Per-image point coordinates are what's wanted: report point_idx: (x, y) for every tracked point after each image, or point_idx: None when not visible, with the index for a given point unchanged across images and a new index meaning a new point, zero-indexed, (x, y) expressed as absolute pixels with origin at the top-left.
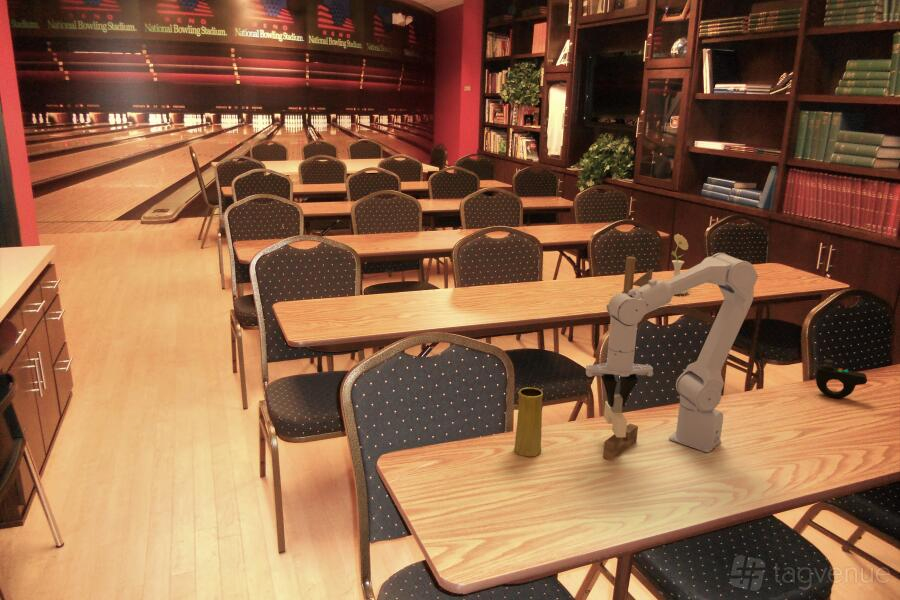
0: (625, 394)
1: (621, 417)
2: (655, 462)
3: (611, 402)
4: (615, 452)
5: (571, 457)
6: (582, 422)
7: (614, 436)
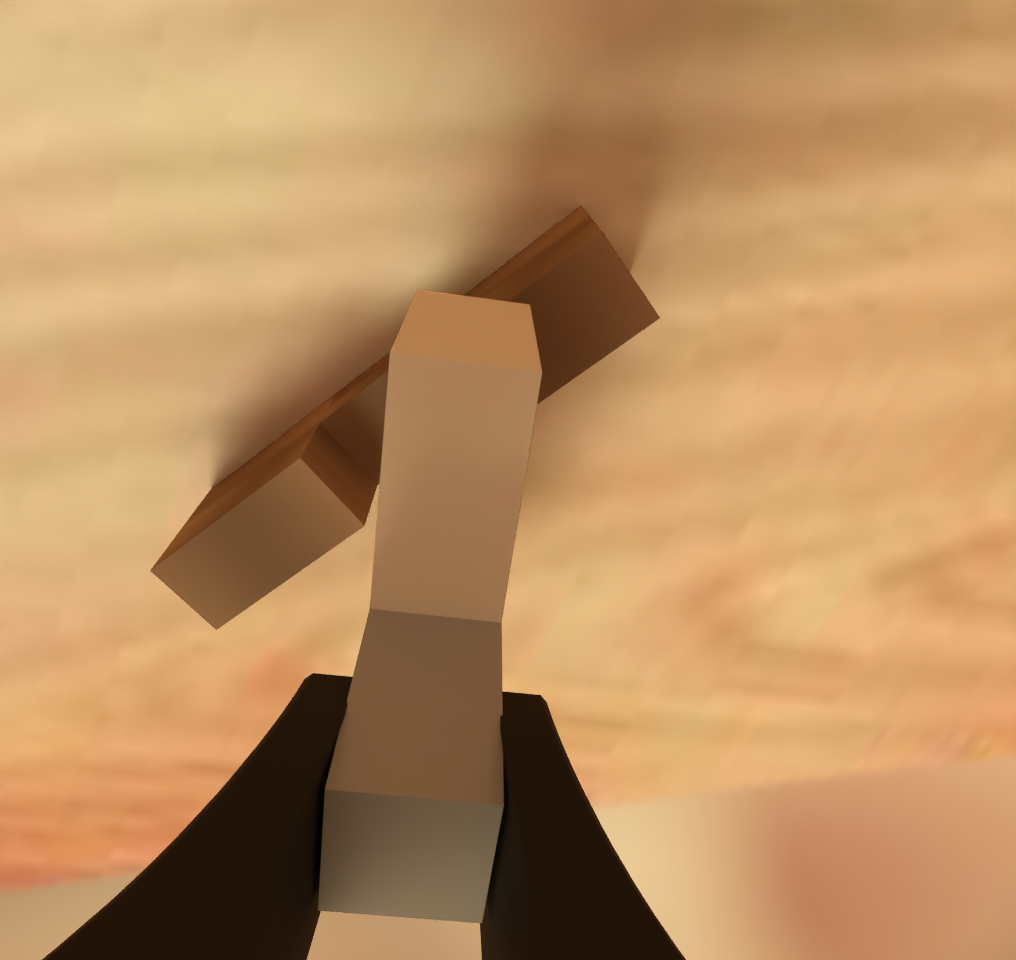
0: (269, 842)
1: (438, 468)
2: (148, 95)
3: (549, 741)
4: (522, 261)
5: (907, 325)
6: None
7: None
